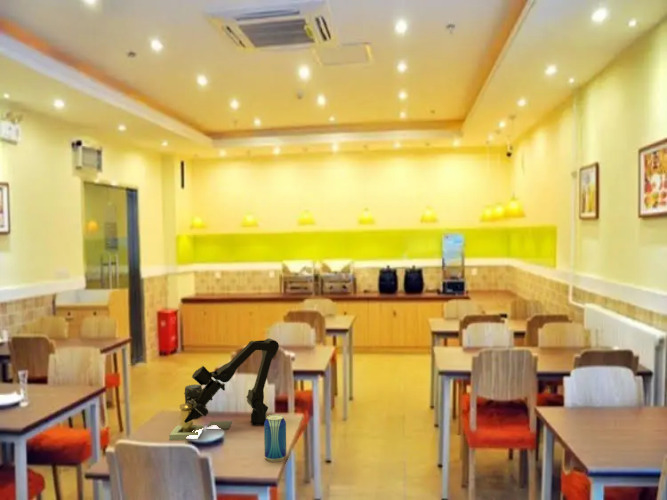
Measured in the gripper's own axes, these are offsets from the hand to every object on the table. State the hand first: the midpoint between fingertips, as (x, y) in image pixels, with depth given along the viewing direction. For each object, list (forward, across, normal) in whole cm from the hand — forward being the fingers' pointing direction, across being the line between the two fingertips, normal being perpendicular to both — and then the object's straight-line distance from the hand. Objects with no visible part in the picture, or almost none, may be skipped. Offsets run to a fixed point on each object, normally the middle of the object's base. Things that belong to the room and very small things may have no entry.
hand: (183, 420), depth 238 cm
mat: (-7, -5, +17) cm, 19 cm away
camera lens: (-2, -24, +11) cm, 26 cm away
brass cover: (+4, 0, +6) cm, 7 cm away
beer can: (-14, +43, +24) cm, 51 cm away
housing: (+4, 0, +6) cm, 7 cm away
